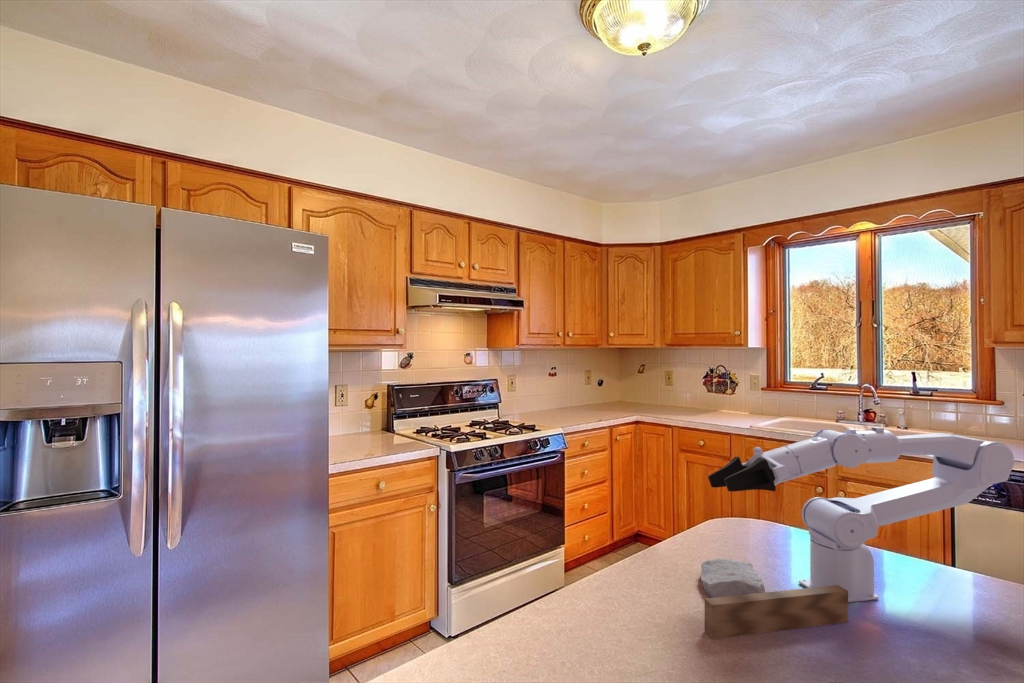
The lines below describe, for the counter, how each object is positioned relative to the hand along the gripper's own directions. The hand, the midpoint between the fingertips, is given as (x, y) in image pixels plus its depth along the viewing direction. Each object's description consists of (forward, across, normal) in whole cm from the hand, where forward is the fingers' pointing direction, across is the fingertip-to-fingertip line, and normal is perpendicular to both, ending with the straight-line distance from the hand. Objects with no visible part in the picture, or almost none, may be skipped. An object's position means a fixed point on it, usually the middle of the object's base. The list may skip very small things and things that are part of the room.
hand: (718, 483), depth 89 cm
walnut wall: (+1, +7, +22) cm, 23 cm away
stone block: (+3, -6, +19) cm, 20 cm away
